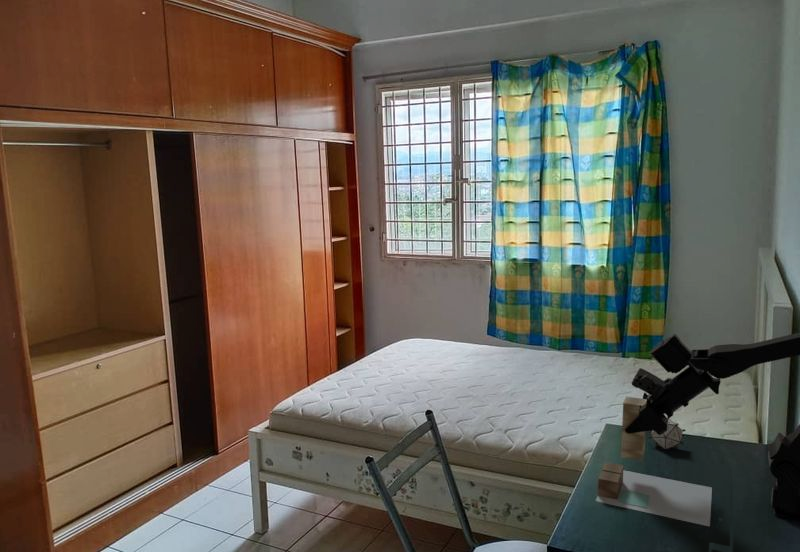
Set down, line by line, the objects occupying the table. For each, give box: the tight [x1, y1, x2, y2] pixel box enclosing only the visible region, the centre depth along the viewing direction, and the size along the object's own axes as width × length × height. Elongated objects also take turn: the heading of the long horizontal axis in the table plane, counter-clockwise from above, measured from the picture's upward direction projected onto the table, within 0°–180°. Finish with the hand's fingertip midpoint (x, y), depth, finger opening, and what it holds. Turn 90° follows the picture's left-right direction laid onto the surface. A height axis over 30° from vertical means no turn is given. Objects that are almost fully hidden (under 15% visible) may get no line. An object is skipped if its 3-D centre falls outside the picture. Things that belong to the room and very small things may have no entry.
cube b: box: [601, 461, 625, 489], centre depth 140 cm, size 4×4×4 cm
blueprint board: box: [595, 469, 713, 527], centre depth 136 cm, size 22×17×1 cm
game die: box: [647, 415, 686, 450], centre depth 159 cm, size 9×8×10 cm
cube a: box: [597, 470, 621, 500], centre depth 136 cm, size 4×4×4 cm
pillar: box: [620, 396, 647, 462], centre depth 141 cm, size 4×4×13 cm
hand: (627, 427), depth 142 cm, fingers closed on pillar, 4 cm apart
